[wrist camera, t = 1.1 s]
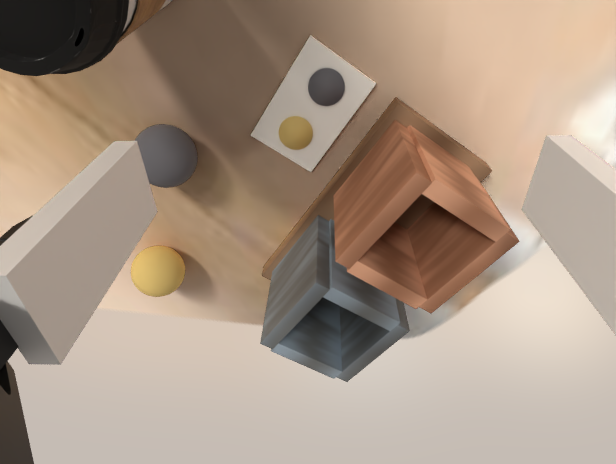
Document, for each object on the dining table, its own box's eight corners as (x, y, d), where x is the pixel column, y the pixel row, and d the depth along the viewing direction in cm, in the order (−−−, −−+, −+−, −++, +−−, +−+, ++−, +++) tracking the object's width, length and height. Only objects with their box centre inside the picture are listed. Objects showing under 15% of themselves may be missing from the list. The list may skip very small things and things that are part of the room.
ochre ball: (135, 259, 42) (114, 293, 38) (152, 227, 39) (132, 259, 35) (179, 280, 43) (164, 314, 39) (198, 250, 41) (184, 283, 37)
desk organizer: (263, 266, 42) (247, 347, 33) (395, 97, 31) (422, 152, 23) (341, 305, 45) (345, 390, 36) (486, 163, 34) (539, 234, 26)
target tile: (251, 133, 33) (250, 136, 33) (310, 34, 29) (310, 36, 28) (311, 170, 35) (310, 173, 35) (375, 82, 31) (376, 84, 30)
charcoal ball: (137, 151, 35) (111, 178, 31) (157, 103, 32) (133, 125, 28) (190, 180, 36) (172, 209, 32) (213, 136, 34) (198, 162, 30)
